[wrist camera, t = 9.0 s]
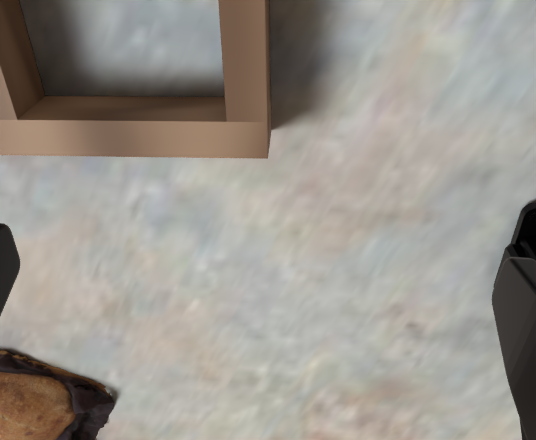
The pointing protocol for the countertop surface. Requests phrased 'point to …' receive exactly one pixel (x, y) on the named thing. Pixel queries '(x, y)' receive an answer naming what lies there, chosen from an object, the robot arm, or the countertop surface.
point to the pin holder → (142, 102)
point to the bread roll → (48, 402)
